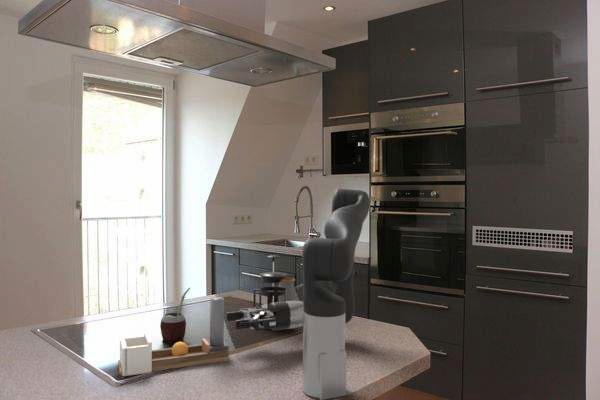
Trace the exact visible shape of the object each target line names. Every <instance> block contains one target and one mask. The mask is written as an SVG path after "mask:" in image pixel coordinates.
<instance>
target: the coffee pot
mask: <svg viewBox="0 0 600 400" xmlns="http://www.w3.org/2000/svg"><path fill="white" fill-rule="evenodd" d="M295 281H296V278H291V277H285V278H284V279H283V280H282V281H281V282H279V283H278V287H284V288H286V289H287V301H301V300H300V299H299V296H298V293H297V291H296V290H297V289H300V288H302V287H303V283H301V284H299V285H296V286H295V285H294V284H295ZM279 292H280V291H279ZM279 302H285V295H281V296H279Z"/></svg>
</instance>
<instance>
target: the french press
mask: <svg viewBox="0 0 600 400" xmlns="http://www.w3.org/2000/svg"><path fill="white" fill-rule="evenodd" d="M266 257H267V258H270V259H271V261H272V271H268V272H262V273H259V277H260V282H261V283H266V284H272V286H264V287H260V288H254V290H253V308H255V307H256V306H257V299H256V298H257V291H259V295H258V296H259V299H258V300H259V301H258V302H259V303H258V304H259V305H258V307H260V309H263V310H267V309H268V306H269V304H270V303H274V302H279V296H281V295H285V301H287V289H286V288H284V287H279V286H275V285H274V284H279V282H281V281H282V280H283V279H284V278H286V277H288V274H287V273H286V272H278V271H275V262H276V259H277V258H278V259H279V258H281V256H279V255H276V254H274V255H272V254H271V255H268V256H266ZM279 291H280V292H279ZM262 296H265V297H267V298H266V303H263V304H262ZM268 330H270V331H271V330H272V329H268ZM272 331H273V330H272Z"/></svg>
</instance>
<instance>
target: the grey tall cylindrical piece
mask: <svg viewBox="0 0 600 400" xmlns="http://www.w3.org/2000/svg"><path fill="white" fill-rule="evenodd" d="M224 329H225V298H224V297H221V296H215V297H214V296H213V297H211V298H209V341H208V340H207V339H206V338H201V344H202V351H203V352H204V353H206V352H213V351H221V350H228V354H230V353H229V345H228V344H227V343H226V341H225V339H224V338H225V334H224V333H225V332H224V331H225V330H224Z"/></svg>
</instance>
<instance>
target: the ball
mask: <svg viewBox="0 0 600 400" xmlns="http://www.w3.org/2000/svg"><path fill="white" fill-rule="evenodd" d="M188 346H189V345H187V343H185V341H184V342H177V343H174V344H173V345H172V347H171V348H172V354H173V355H174V356H183V355H186V354H187V352H188Z"/></svg>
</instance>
